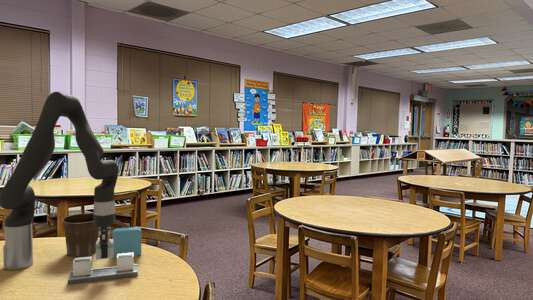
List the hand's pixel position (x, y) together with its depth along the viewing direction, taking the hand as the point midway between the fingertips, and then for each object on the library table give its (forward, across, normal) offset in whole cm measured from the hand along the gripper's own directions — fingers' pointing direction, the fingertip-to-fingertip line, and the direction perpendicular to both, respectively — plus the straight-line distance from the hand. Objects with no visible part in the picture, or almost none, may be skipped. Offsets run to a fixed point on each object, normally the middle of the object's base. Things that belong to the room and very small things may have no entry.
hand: (104, 255), depth 136 cm
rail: (+8, 0, 0) cm, 8 cm away
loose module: (+1, 0, 0) cm, 1 cm away
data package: (+8, -21, +8) cm, 24 cm away
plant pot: (+8, -30, -11) cm, 33 cm away
